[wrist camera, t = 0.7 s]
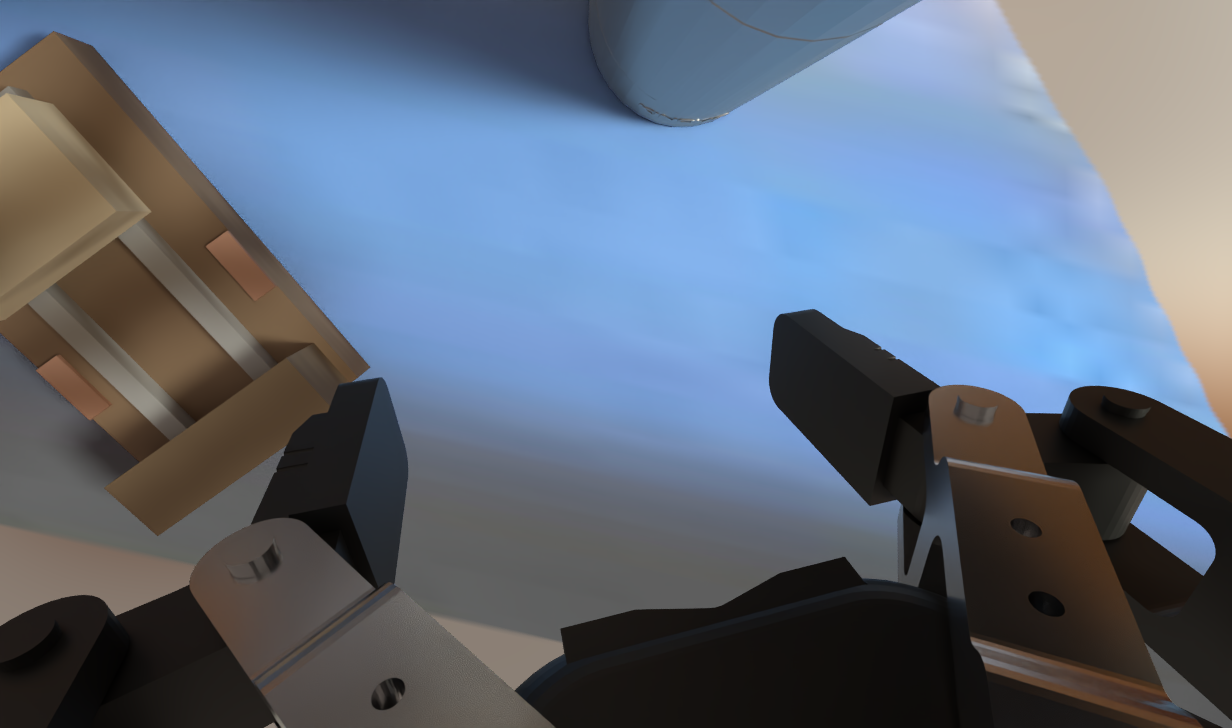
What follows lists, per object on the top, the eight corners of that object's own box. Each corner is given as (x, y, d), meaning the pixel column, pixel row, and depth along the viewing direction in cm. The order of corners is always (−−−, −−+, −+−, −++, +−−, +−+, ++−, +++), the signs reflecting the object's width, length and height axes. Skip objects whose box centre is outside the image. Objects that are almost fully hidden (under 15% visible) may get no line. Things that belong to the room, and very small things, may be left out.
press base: (-100, 191, 25) (-255, 184, 20) (92, 46, 24) (-19, 3, 20) (212, 490, 30) (148, 542, 25) (376, 374, 29) (343, 404, 25)
